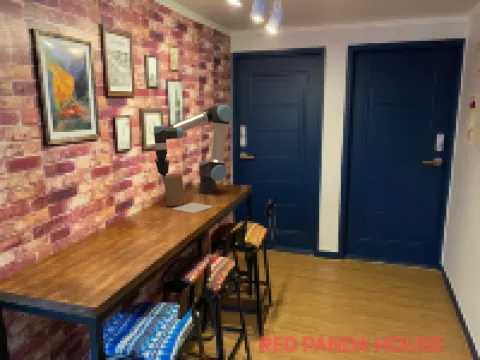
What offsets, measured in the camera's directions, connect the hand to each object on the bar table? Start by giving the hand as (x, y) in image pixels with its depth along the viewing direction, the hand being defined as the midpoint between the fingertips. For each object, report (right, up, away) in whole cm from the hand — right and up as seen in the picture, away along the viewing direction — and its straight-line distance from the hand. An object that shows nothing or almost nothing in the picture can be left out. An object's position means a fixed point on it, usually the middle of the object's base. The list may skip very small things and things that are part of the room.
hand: (164, 183), depth 250 cm
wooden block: (+9, -14, -4) cm, 17 cm away
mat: (+21, -15, -14) cm, 30 cm away
